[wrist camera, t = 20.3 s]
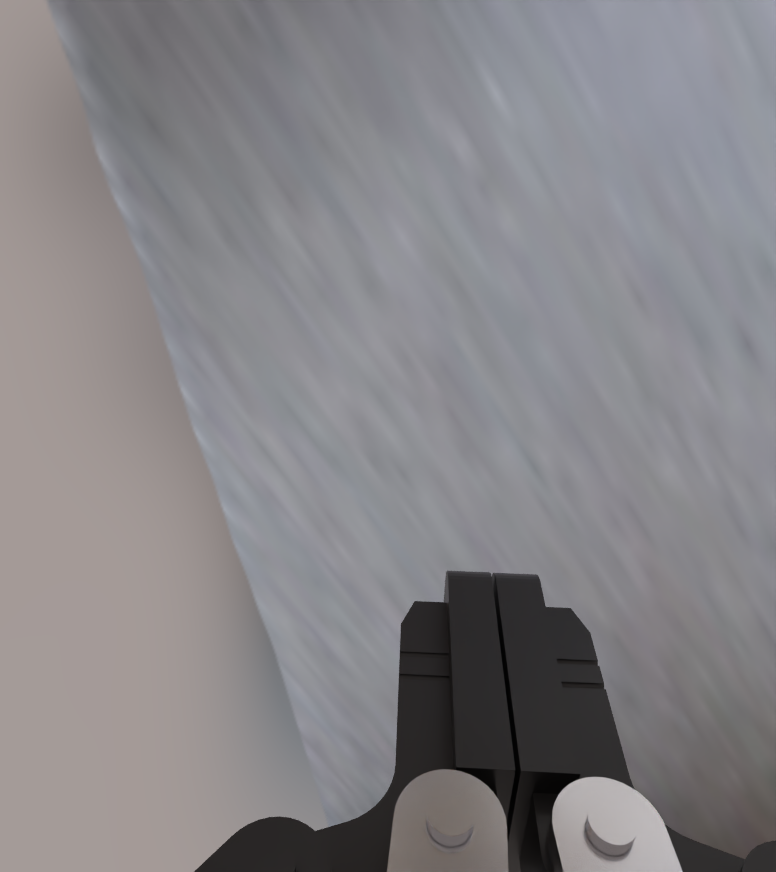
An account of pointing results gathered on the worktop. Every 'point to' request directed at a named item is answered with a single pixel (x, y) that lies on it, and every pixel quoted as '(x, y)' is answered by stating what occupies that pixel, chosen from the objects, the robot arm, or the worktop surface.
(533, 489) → the worktop surface
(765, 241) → the worktop surface
